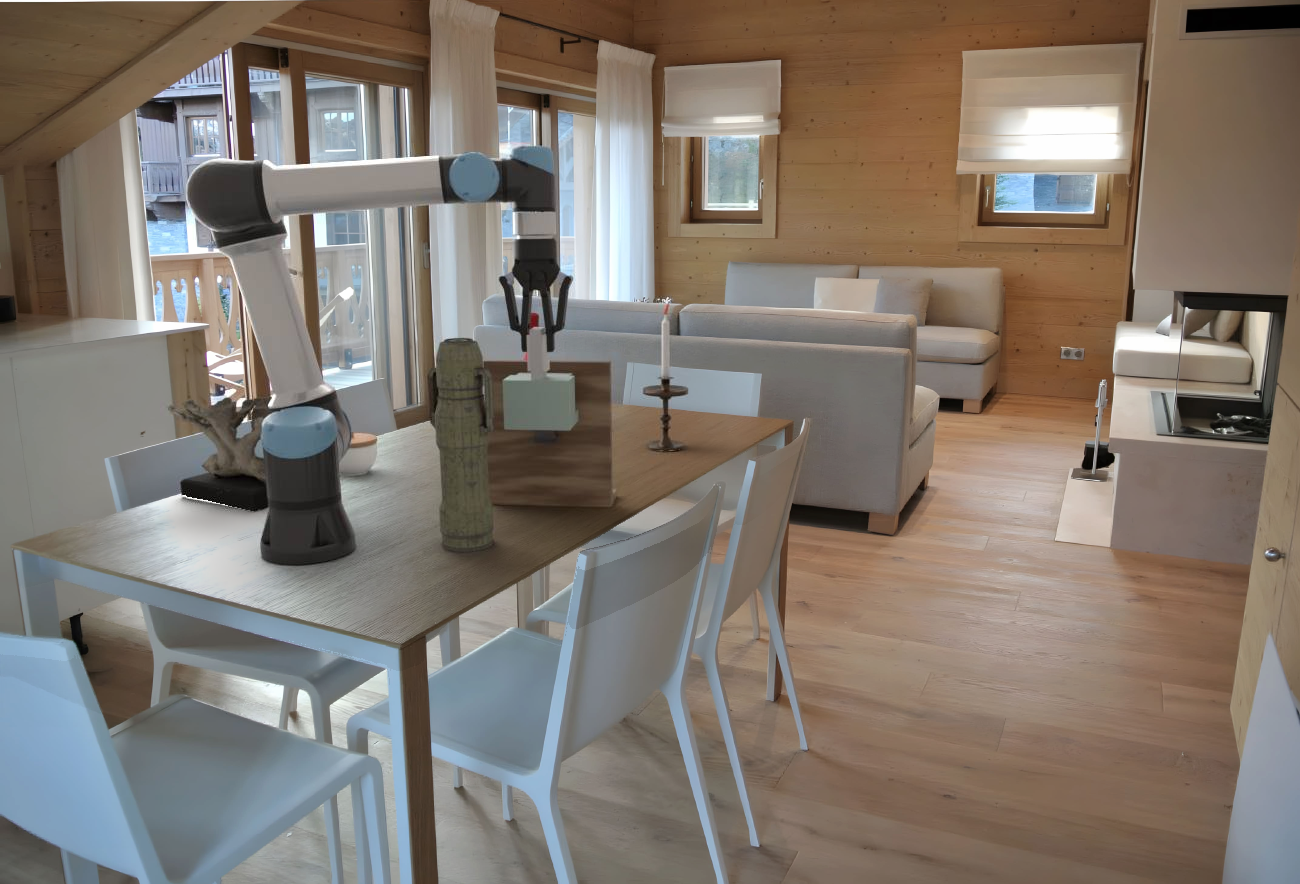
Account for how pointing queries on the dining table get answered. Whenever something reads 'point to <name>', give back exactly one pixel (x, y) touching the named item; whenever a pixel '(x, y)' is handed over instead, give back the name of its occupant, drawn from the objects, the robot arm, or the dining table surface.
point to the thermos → (463, 443)
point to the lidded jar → (359, 455)
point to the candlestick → (665, 394)
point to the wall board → (554, 444)
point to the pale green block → (539, 395)
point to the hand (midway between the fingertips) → (538, 369)
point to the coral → (229, 454)
